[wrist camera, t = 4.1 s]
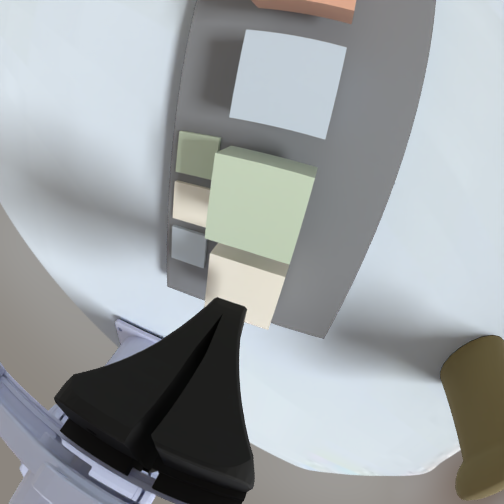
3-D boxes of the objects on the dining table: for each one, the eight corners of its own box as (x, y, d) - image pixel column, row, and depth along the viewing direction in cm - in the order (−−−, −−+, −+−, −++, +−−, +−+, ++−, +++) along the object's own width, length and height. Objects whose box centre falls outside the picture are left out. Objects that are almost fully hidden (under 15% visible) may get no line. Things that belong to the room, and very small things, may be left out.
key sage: (295, 244, 12) (289, 264, 10) (219, 221, 12) (204, 238, 11) (317, 167, 10) (314, 178, 8) (231, 145, 10) (215, 152, 9)
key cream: (274, 309, 15) (268, 329, 14) (215, 289, 15) (204, 307, 14) (291, 257, 13) (285, 277, 12) (222, 236, 13) (209, 253, 12)
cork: (425, 379, 17) (428, 513, 7) (477, 326, 13) (512, 479, 4) (470, 389, 16) (480, 501, 7) (517, 344, 13) (548, 465, 4)
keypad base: (325, 327, 16) (323, 341, 15) (174, 277, 18) (165, 288, 17) (430, -14, 6) (438, -22, 5) (221, -52, 7) (212, -61, 6)
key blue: (326, 135, 10) (325, 139, 9) (242, 115, 10) (229, 117, 9) (344, 55, 8) (346, 47, 7) (258, 38, 8) (246, 29, 7)
